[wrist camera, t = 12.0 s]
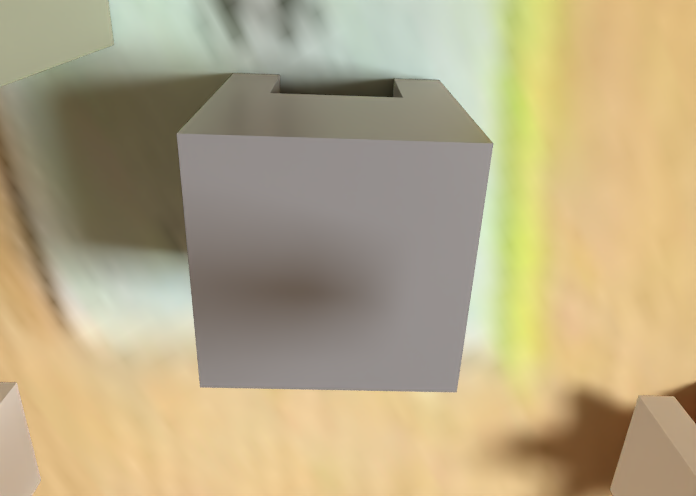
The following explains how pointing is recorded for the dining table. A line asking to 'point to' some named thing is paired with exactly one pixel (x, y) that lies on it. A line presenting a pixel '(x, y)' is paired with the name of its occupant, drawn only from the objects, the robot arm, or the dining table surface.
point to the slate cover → (332, 235)
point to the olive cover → (49, 34)
